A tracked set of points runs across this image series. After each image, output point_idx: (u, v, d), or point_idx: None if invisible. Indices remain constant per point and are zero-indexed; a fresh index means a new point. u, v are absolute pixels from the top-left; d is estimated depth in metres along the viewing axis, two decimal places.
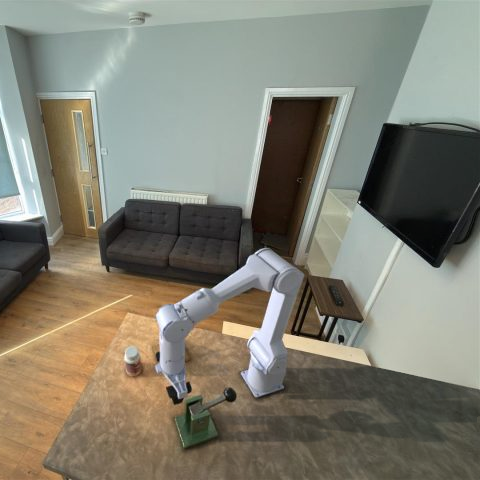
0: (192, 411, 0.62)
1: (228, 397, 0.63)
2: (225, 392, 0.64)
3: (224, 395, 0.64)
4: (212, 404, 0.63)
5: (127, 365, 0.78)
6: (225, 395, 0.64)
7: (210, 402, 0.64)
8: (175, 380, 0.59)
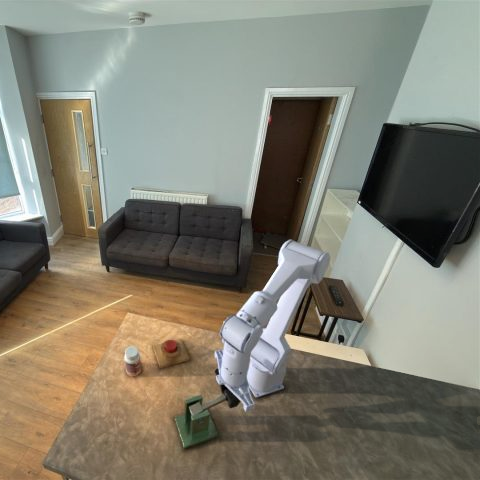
0: (192, 411, 0.62)
1: None
2: None
3: (224, 395, 0.64)
4: (212, 404, 0.63)
5: (127, 365, 0.78)
6: (225, 395, 0.64)
7: (210, 402, 0.64)
8: (239, 392, 0.58)
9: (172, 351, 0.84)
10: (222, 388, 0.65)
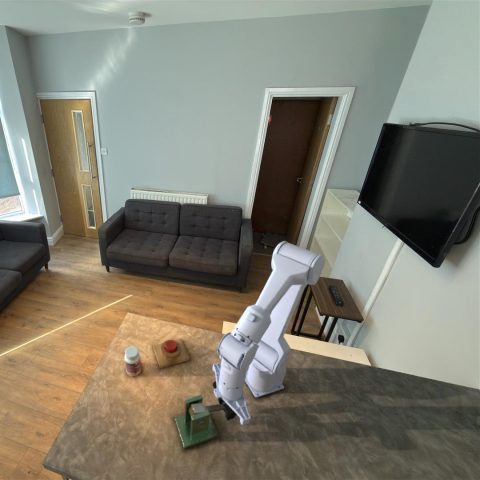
0: (195, 409, 0.62)
1: None
2: None
3: None
4: (212, 409, 0.64)
5: (127, 365, 0.78)
6: None
7: (210, 407, 0.65)
8: (236, 406, 0.60)
9: (172, 351, 0.84)
10: (220, 400, 0.67)
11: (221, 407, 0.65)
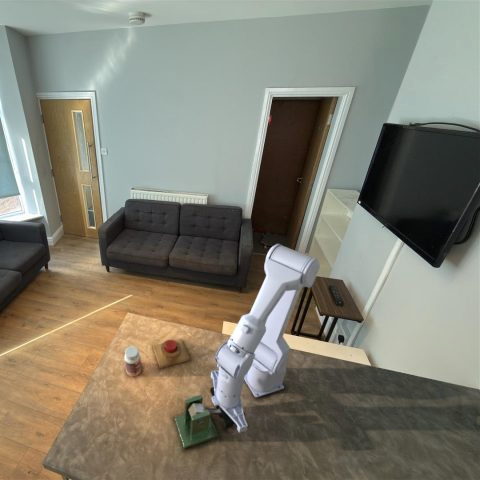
0: (196, 408, 0.62)
1: None
2: None
3: (220, 410, 0.67)
4: (211, 412, 0.65)
5: (127, 365, 0.78)
6: (223, 410, 0.66)
7: (209, 409, 0.65)
8: (233, 413, 0.61)
9: (172, 351, 0.84)
10: (217, 406, 0.69)
11: (218, 412, 0.66)
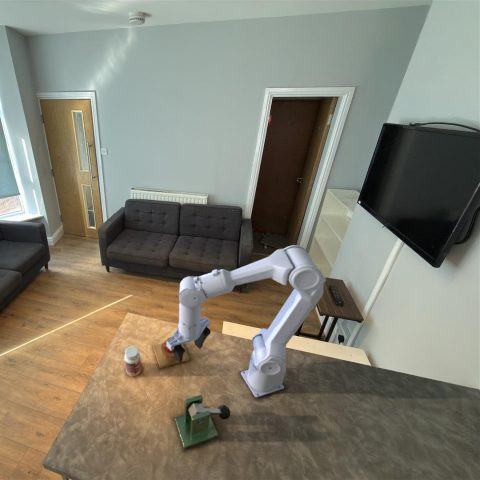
0: (196, 408, 0.62)
1: (225, 413, 0.66)
2: (223, 407, 0.67)
3: (220, 410, 0.67)
4: (211, 412, 0.65)
5: (127, 365, 0.78)
6: (223, 410, 0.66)
7: (209, 409, 0.65)
8: (177, 337, 0.70)
9: (172, 351, 0.84)
10: None
11: (218, 412, 0.66)
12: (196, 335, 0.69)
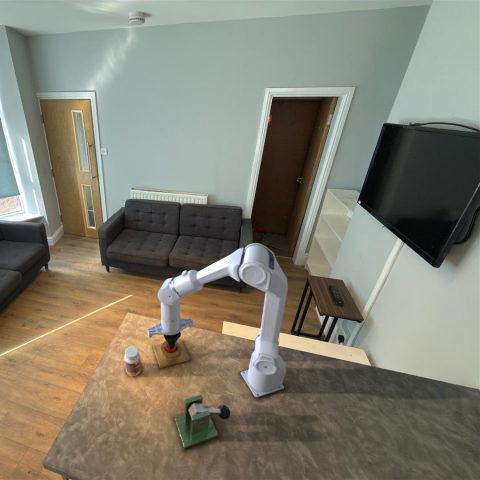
0: (196, 408, 0.62)
1: (225, 413, 0.66)
2: (223, 407, 0.67)
3: (220, 410, 0.67)
4: (211, 412, 0.65)
5: (127, 365, 0.78)
6: (223, 410, 0.66)
7: (209, 409, 0.65)
8: (158, 328, 0.81)
9: (172, 352, 0.84)
10: None
11: (218, 412, 0.66)
12: (173, 331, 0.78)
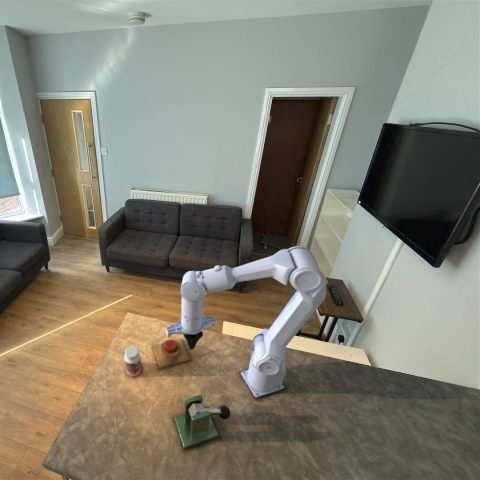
0: (196, 408, 0.62)
1: (225, 413, 0.66)
2: (223, 407, 0.67)
3: (220, 410, 0.67)
4: (211, 412, 0.65)
5: (127, 365, 0.78)
6: (223, 410, 0.66)
7: (209, 409, 0.65)
8: (177, 327, 0.73)
9: (172, 351, 0.84)
10: None
11: (218, 412, 0.66)
12: (195, 330, 0.70)
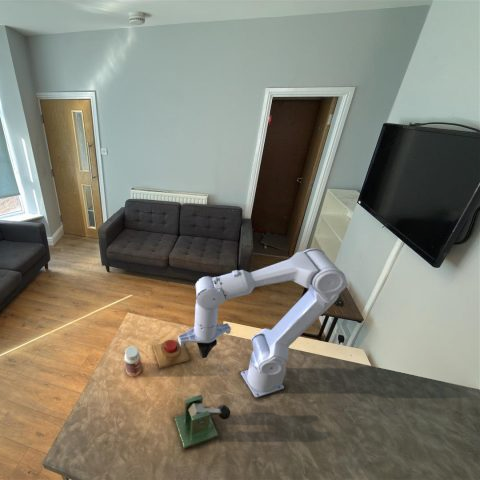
0: (196, 408, 0.62)
1: (225, 413, 0.66)
2: (223, 407, 0.67)
3: (220, 410, 0.67)
4: (211, 412, 0.65)
5: (127, 365, 0.78)
6: (223, 410, 0.66)
7: (209, 409, 0.65)
8: (190, 334, 0.69)
9: (172, 351, 0.84)
10: None
11: (218, 412, 0.66)
12: (209, 338, 0.67)
